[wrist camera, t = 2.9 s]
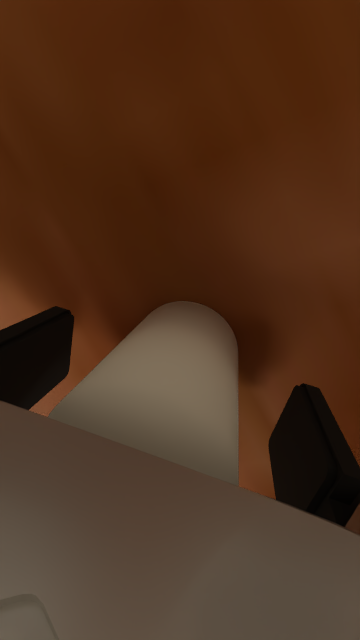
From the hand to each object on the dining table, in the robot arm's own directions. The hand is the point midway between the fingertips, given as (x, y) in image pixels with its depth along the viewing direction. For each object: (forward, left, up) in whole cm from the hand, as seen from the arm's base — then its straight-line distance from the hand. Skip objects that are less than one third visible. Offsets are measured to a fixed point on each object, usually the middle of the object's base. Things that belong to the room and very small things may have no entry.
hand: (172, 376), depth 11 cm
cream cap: (0, 0, -2) cm, 2 cm away
